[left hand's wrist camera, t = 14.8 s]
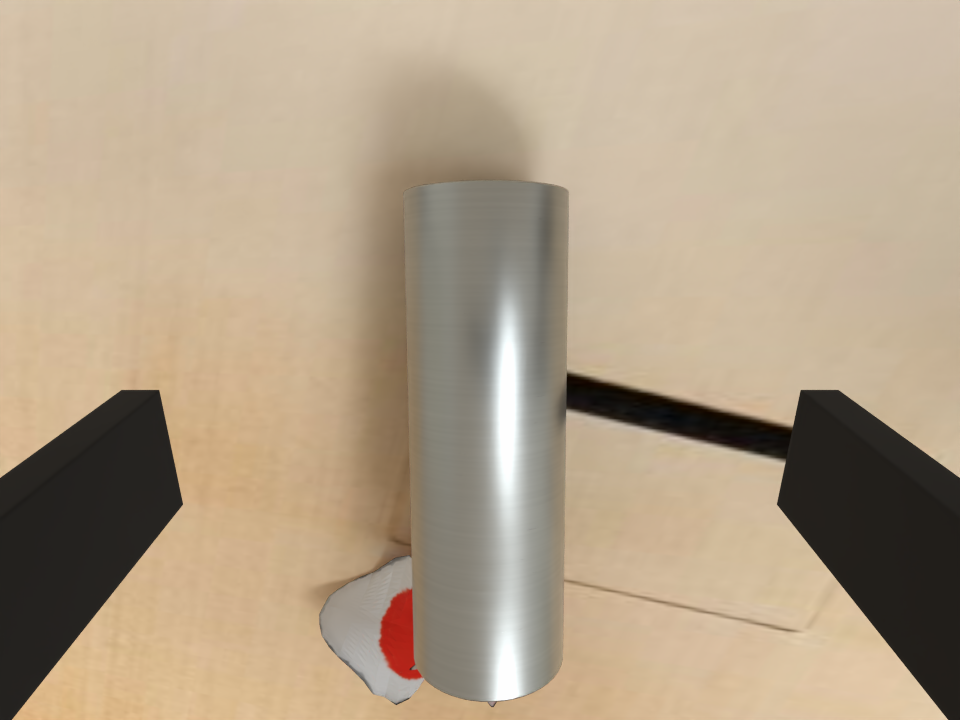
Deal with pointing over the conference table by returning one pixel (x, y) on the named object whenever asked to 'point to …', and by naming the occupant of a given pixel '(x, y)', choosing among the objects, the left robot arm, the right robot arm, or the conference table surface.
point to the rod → (487, 432)
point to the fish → (376, 630)
